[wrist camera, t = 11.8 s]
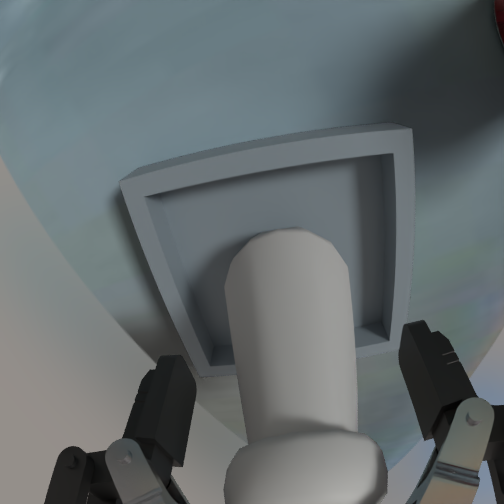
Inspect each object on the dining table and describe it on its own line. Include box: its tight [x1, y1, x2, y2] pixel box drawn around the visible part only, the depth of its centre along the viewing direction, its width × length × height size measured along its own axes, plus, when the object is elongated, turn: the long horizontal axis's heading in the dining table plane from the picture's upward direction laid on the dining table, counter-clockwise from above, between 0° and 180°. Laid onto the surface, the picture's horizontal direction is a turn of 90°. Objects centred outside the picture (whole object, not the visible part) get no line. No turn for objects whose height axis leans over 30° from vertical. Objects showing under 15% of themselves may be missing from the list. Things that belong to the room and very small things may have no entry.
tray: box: [119, 122, 415, 377], centre depth 16 cm, size 13×13×2 cm
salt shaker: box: [224, 226, 388, 504], centre depth 11 cm, size 6×6×13 cm
